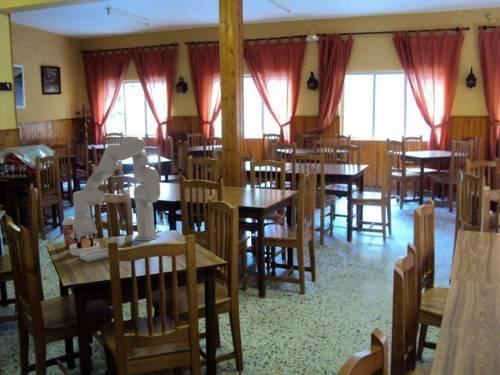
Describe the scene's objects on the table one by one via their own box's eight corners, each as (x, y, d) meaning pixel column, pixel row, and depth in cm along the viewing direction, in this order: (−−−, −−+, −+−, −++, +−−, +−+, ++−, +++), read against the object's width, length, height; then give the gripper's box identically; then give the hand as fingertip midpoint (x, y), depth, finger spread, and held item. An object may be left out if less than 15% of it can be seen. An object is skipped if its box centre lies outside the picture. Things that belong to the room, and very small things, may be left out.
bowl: (90, 246, 291) (90, 240, 291) (104, 251, 281) (104, 244, 280) (65, 252, 281) (64, 245, 280) (78, 257, 271) (77, 250, 270)
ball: (87, 246, 285) (86, 235, 284) (93, 248, 281) (92, 237, 280) (77, 248, 281) (76, 237, 280) (82, 250, 277) (81, 239, 276)
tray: (107, 251, 279) (107, 247, 279) (116, 255, 273) (116, 250, 273) (79, 258, 268) (79, 254, 268) (88, 261, 262) (87, 257, 262)
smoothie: (82, 244, 295) (79, 209, 292) (76, 248, 287) (73, 212, 284) (68, 244, 296) (65, 209, 293) (61, 248, 288) (58, 212, 285)
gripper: (93, 210, 286) (96, 242, 289) (63, 216, 275) (66, 249, 278) (100, 212, 281) (103, 245, 284) (70, 218, 269) (73, 252, 272)
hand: (85, 247), depth 281 cm, fingers closed on ball, 5 cm apart
